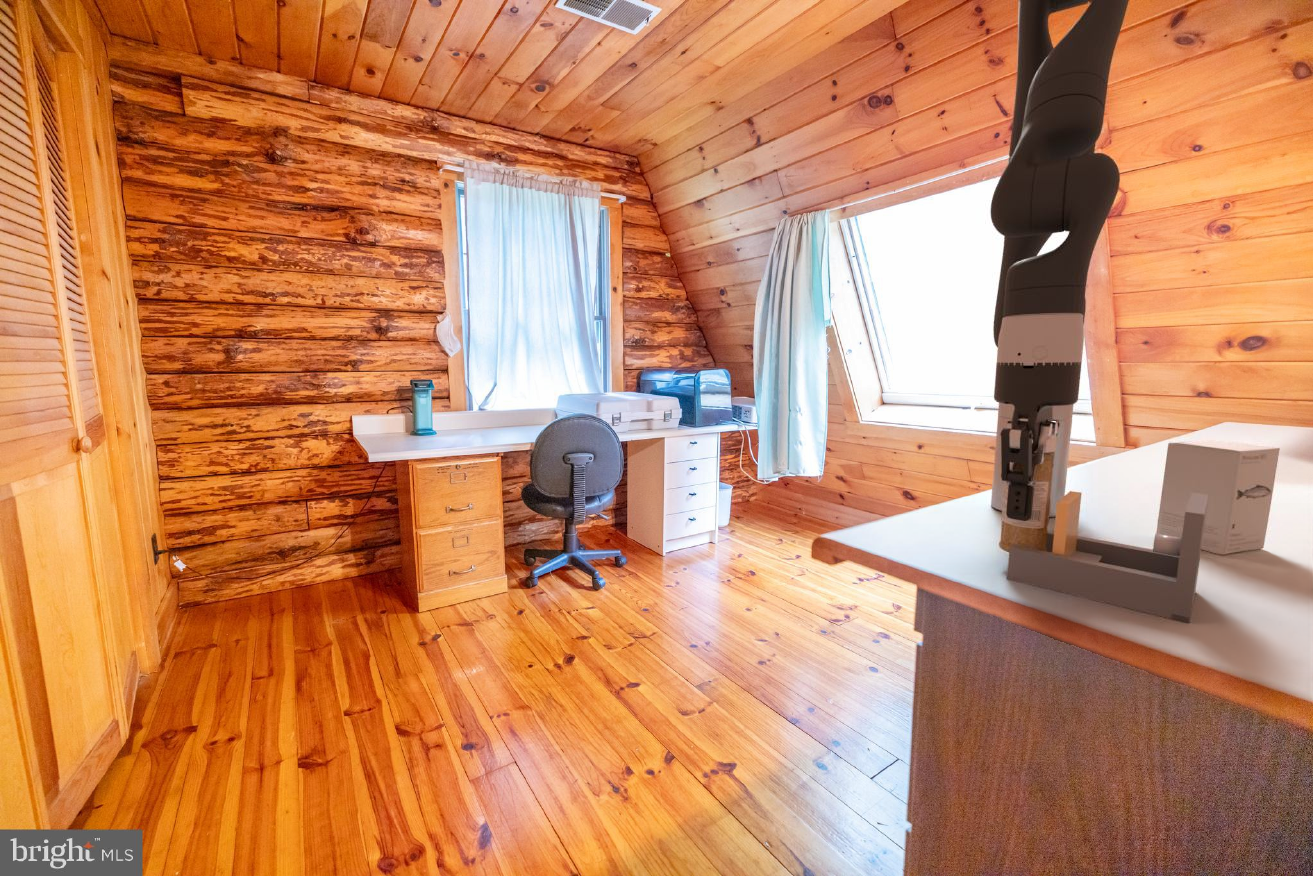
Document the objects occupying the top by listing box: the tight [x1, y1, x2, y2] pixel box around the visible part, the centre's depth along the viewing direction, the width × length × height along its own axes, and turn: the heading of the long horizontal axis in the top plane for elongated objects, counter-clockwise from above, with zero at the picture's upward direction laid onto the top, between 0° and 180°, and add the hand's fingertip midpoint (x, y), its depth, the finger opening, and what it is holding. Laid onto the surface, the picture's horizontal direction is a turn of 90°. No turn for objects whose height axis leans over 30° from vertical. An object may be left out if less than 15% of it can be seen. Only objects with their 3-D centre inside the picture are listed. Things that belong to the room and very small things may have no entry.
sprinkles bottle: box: [998, 434, 1057, 554], centre depth 61 cm, size 5×5×13 cm
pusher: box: [1052, 490, 1102, 563], centre depth 58 cm, size 6×3×8 cm, turn 134°
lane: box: [1006, 493, 1209, 624], centre depth 57 cm, size 9×14×10 cm, turn 44°
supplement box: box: [1155, 439, 1281, 556], centre depth 68 cm, size 7×7×13 cm
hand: (1024, 513), depth 62 cm, fingers closed on sprinkles bottle, 4 cm apart
